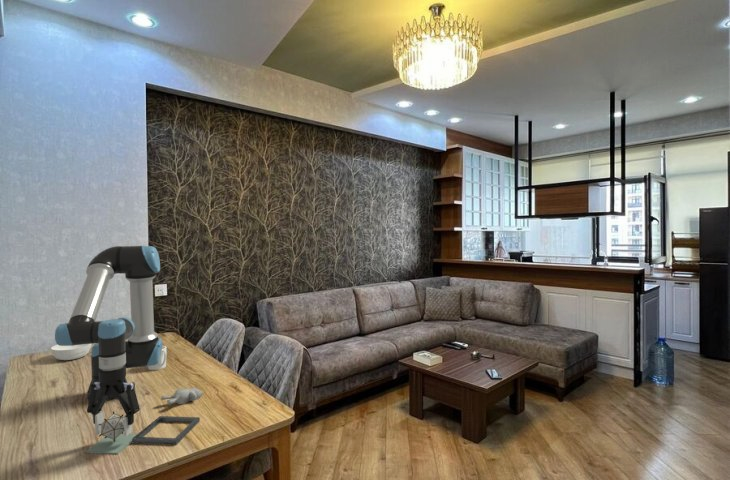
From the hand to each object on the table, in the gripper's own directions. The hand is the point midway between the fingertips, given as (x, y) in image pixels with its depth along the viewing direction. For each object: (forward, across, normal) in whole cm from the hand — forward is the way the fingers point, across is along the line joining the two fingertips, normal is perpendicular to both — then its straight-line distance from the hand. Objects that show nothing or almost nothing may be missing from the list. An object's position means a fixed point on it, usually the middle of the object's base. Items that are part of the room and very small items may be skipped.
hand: (113, 433), depth 126 cm
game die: (+2, 0, 0) cm, 2 cm away
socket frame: (+4, +14, +8) cm, 16 cm away
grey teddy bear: (+4, +6, +31) cm, 32 cm away
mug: (+4, -28, +67) cm, 73 cm away
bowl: (+4, -86, +79) cm, 117 cm away
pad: (+4, 0, 0) cm, 4 cm away
